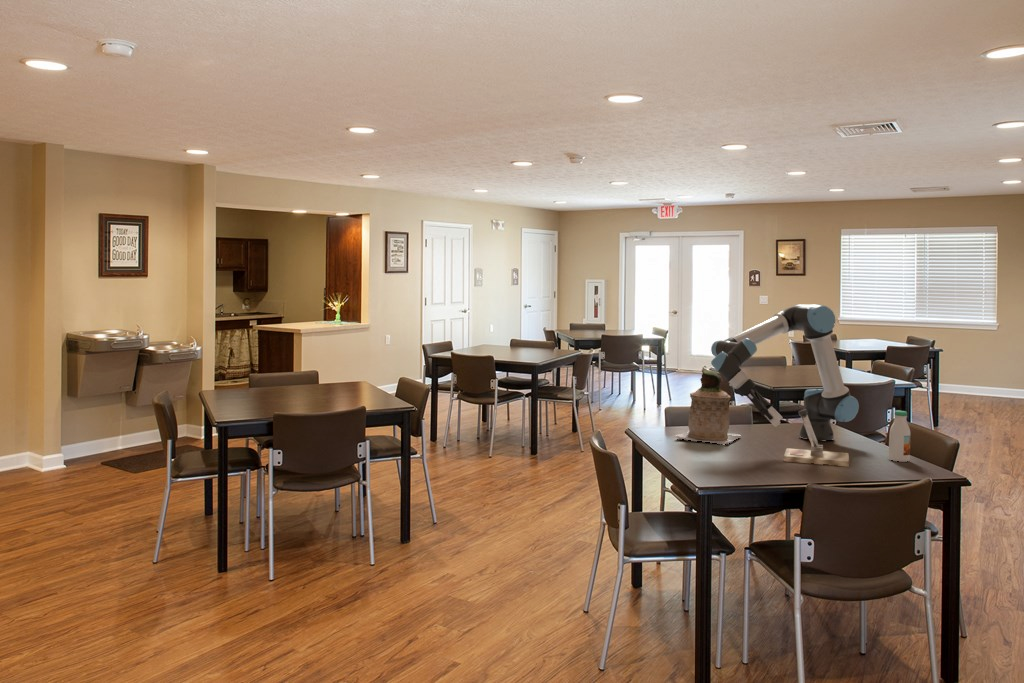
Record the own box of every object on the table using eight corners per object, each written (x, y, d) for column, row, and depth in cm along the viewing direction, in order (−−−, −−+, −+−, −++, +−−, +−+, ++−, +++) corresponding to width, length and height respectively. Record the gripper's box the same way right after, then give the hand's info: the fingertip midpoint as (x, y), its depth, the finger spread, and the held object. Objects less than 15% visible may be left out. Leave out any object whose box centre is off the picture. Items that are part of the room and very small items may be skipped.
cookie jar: (728, 446, 352) (730, 373, 350) (673, 440, 365) (675, 369, 363) (742, 438, 374) (744, 368, 372) (690, 432, 386) (692, 365, 384)
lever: (813, 454, 325) (797, 412, 327) (813, 453, 329) (798, 411, 330) (822, 452, 324) (806, 409, 326) (822, 450, 327) (806, 408, 329)
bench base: (783, 461, 323) (784, 447, 323) (786, 452, 340) (786, 439, 339) (849, 466, 314) (849, 452, 314) (848, 458, 331) (848, 444, 330)
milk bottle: (896, 462, 323) (898, 412, 321) (884, 458, 330) (886, 409, 329) (913, 462, 324) (916, 412, 323) (900, 458, 332) (903, 409, 331)
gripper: (738, 386, 349) (774, 423, 344) (731, 393, 326) (769, 433, 321) (752, 375, 346) (788, 412, 342) (746, 380, 323) (784, 420, 319)
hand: (779, 422), depth 331 cm, fingers open, 13 cm apart
